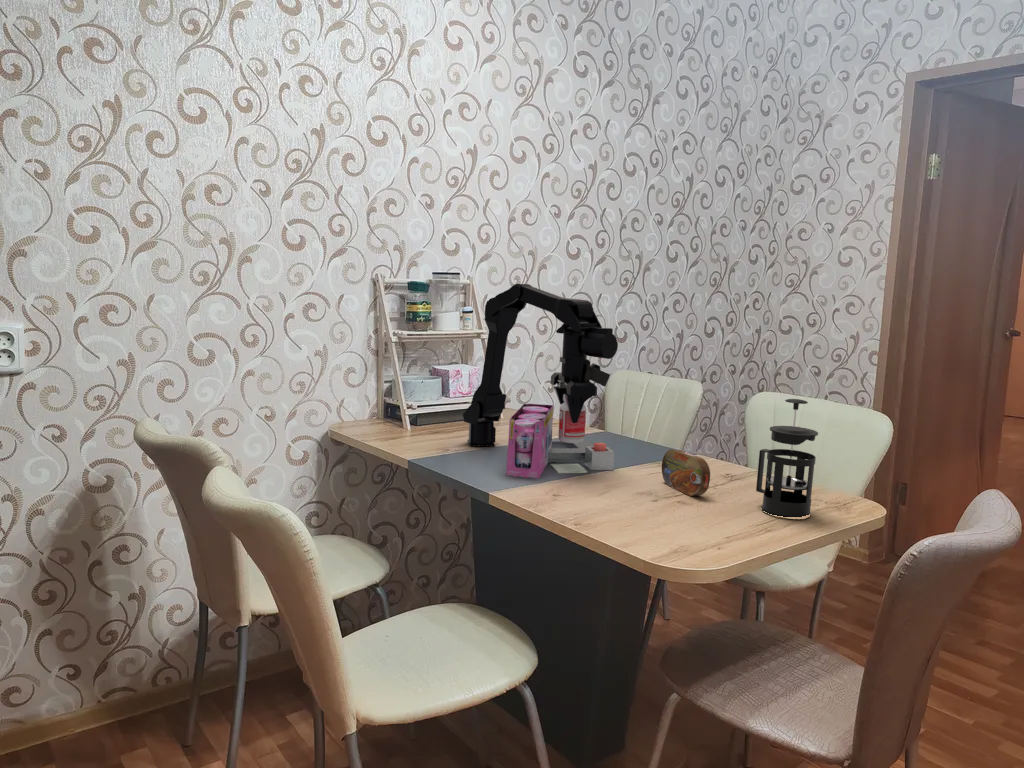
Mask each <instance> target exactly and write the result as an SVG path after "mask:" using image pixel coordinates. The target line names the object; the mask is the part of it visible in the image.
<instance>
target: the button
mask: <svg viewBox="0 0 1024 768" xmlns="http://www.w3.org/2000/svg"><path fill="white" fill-rule="evenodd" d="M593 444H594V451H606V446H607V443H604V442H594V443H593Z"/></svg>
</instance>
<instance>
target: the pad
mask: <svg viewBox="0 0 1024 768" xmlns="http://www.w3.org/2000/svg"><path fill="white" fill-rule="evenodd" d="M551 466H552V467H553V468H554V469H555V470H556V471H557V472H558V473H557V472H556V471H555V470H554V469H553V468H552V467H551ZM550 467H551V468H552V469H553V470H554V471H555V472H556V473H557V474H588V471H587V470H586V468H584V467H583V466H582V465H581V464H579V463H550Z"/></svg>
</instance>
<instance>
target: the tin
mask: <svg viewBox="0 0 1024 768" xmlns="http://www.w3.org/2000/svg"><path fill="white" fill-rule="evenodd" d="M661 474H662V475H661V476H662V479H663V480H664V482H665V484H666V485H667V486H668V485H669V486H668V487H670V486H671V487H670V488H672V487H673V488H672V489H674V488H675V489H674V490H676V489H677V490H676V491H678V490H679V491H678V492H680V491H681V493H682V492H683V493H682V494H684V493H685V495H686V494H687V495H686V496H690V497H693V496H701V495H704V494H705V493H707V491H708V489H709V487H710V483H711V482H710V481H711V469H710V465H709V464H708V463H707V460H705V459H704V458H702V457H700V456H698V455H695V454H692V453H689V452H687V451H685V450H681V449H669V450H667V451H666V452H665V453H664V456H663V458H662V461H661Z"/></svg>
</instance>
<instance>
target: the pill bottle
mask: <svg viewBox="0 0 1024 768" xmlns="http://www.w3.org/2000/svg"><path fill="white" fill-rule="evenodd" d="M563 401H564V403H562V404H561V405H560V404H559V413H558V414H559V415H558V416H559V419H558V441H562V442H566V443H580V442H583V441H585V438H586V437H585V436H586V418H587V417H586V416H587V415H586V414H587V413H586V412H587V408H586V405H585V404H584V405H583V407H582V410H581V413H580V416H579V419H578V422H577V423H572V420H571V416H570V413H569V409H568V405H567V402H566V398H565V394H564V395H563Z"/></svg>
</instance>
